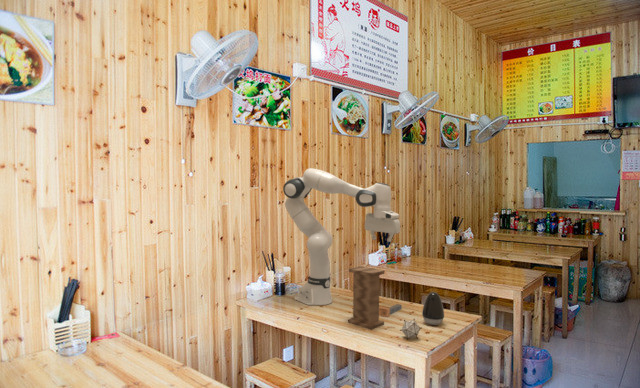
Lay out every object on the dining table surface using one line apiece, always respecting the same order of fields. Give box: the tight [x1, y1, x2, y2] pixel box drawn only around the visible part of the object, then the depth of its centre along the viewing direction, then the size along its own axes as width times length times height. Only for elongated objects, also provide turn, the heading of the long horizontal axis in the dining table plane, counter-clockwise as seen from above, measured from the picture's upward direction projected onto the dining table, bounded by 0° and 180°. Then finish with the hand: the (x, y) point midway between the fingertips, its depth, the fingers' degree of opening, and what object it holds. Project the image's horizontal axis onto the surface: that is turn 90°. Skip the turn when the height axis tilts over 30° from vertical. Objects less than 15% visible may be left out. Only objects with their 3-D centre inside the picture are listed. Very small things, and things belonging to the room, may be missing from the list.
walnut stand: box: [347, 265, 385, 331], centre depth 206 cm, size 14×10×26 cm
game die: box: [399, 317, 423, 341], centre depth 189 cm, size 9×8×10 cm
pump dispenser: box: [421, 291, 445, 326], centre depth 208 cm, size 10×10×15 cm
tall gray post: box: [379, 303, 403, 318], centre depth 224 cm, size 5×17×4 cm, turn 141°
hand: (381, 240), depth 224 cm, fingers open, 8 cm apart
